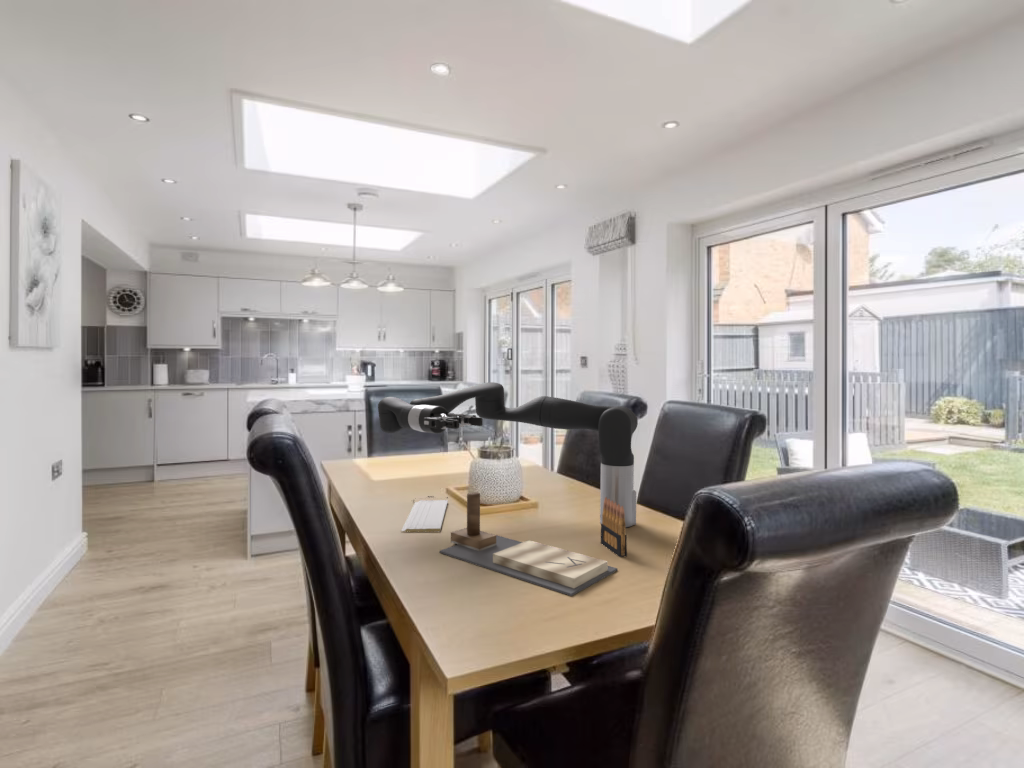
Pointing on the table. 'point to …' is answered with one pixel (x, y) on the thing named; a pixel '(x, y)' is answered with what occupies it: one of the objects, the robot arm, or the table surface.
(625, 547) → the ammunition clip
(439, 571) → the table surface
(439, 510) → the baseboard molding
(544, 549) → the pine board
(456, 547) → the rubber mat
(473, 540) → the sanding block
